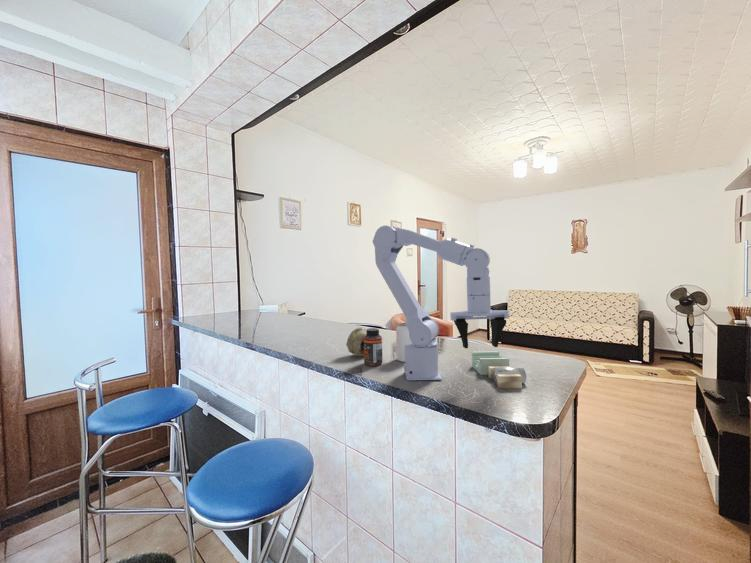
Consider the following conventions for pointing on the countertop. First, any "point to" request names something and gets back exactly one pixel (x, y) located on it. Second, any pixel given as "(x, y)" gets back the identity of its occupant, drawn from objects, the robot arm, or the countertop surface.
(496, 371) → the axle
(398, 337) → the can
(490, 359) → the v block
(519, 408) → the countertop surface
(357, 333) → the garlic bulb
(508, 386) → the beige blocks
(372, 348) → the supplement bottle
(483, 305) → the robot arm
